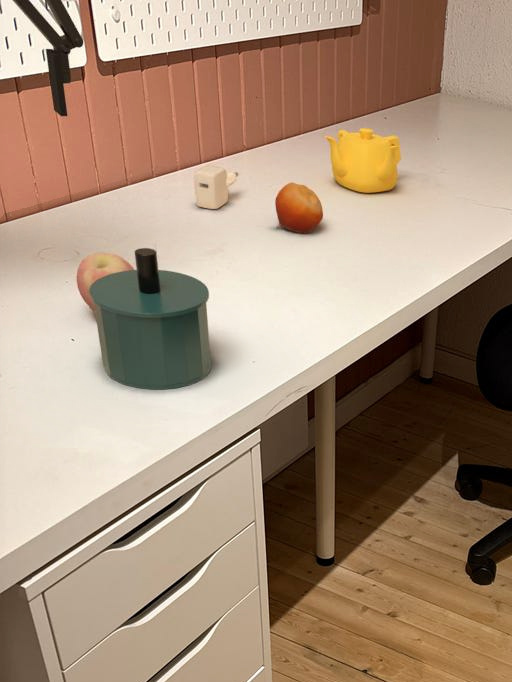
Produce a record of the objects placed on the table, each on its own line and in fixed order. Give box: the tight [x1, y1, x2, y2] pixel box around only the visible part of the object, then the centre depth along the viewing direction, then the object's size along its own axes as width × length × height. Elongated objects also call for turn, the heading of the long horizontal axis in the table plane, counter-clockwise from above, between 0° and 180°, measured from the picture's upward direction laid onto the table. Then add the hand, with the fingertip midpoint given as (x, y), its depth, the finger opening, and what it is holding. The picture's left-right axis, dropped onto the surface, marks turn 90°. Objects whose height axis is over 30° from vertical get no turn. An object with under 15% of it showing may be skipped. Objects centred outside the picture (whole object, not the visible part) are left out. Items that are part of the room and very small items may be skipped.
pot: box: [94, 302, 212, 390], centre depth 116 cm, size 13×13×9 cm
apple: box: [76, 252, 135, 312], centre depth 125 cm, size 8×8×8 cm
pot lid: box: [89, 247, 210, 318], centre depth 111 cm, size 13×13×6 cm
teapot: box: [323, 127, 402, 194], centre depth 181 cm, size 14×13×10 cm
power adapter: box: [193, 164, 239, 210], centre depth 166 cm, size 11×5×6 cm, turn 168°
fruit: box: [274, 182, 324, 234], centre depth 160 cm, size 8×8×8 cm
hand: (1, 114), depth 113 cm, fingers open, 13 cm apart
